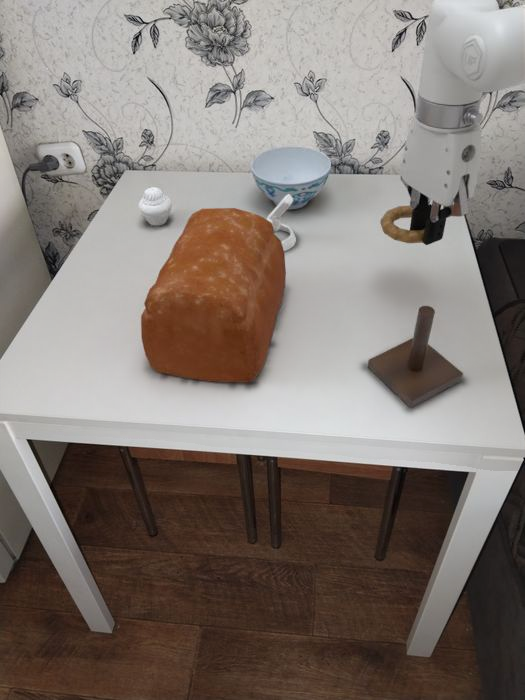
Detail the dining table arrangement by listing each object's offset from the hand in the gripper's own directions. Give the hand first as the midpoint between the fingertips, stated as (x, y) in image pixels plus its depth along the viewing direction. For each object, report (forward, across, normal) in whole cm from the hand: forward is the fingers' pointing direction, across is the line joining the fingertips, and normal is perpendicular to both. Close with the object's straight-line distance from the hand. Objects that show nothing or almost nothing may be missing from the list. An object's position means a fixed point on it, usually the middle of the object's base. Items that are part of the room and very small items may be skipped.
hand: (425, 235), depth 85 cm
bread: (+11, +10, +29) cm, 33 cm away
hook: (+11, +26, +11) cm, 30 cm away
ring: (0, +3, 0) cm, 3 cm away
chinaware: (+11, +36, +1) cm, 38 cm away
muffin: (+11, +43, +26) cm, 52 cm away
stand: (+12, -13, +11) cm, 20 cm away
